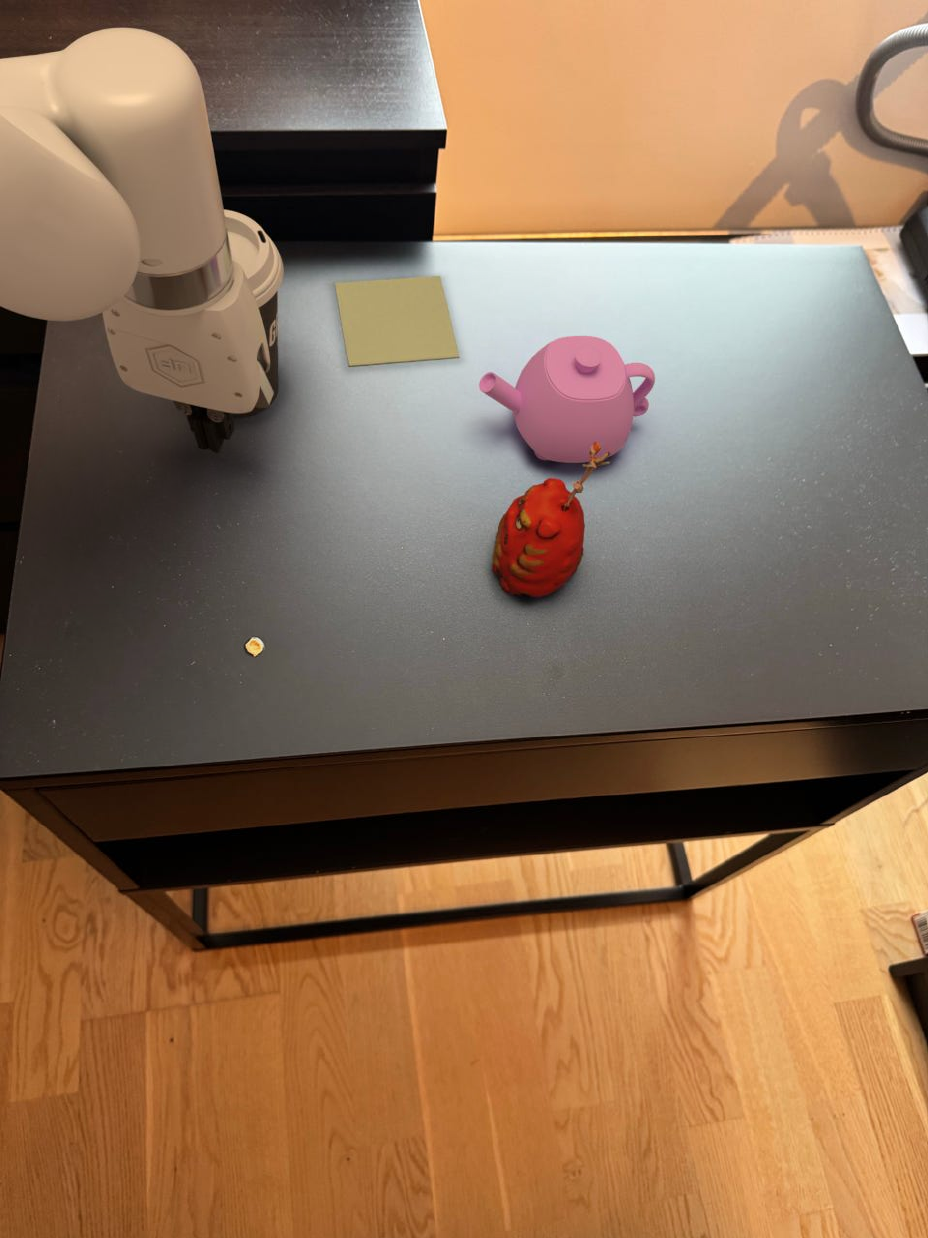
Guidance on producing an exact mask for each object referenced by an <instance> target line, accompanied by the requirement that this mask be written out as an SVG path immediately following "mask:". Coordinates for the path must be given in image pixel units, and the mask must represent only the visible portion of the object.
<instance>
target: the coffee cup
mask: <svg viewBox="0 0 928 1238" xmlns="http://www.w3.org/2000/svg"><path fill="white" fill-rule="evenodd" d="M224 214H225V220H226V226H227V231H228V237H229V243H230V248H231V254H232V260H233V261H235V262H237V263H239V264H240V265H241V266H242V268H243V271H244V273H245V275H246V277H247V279H248V281H249V284H250V286H251V289H252V291H253V293H254V296H255V299H256V302H257V305H258V308H259V311H260V315H261V318H262V322H263V326H264V330H265V334H266V339H267V344H268V349H269V356H270V369H269V371H268V372H266V373H265V375H266V377H267V379H268V381H269V383H270V385H271V387H272V390H273V392H274V395H273V397H272V400H271V402H270V405H269V407H270V406H271V405H272V404H273V403H274V401H275V400H276V399H277V395H278V392H279V385H280V384H279V383H280V382H279V314H278V313H279V311H278V310H279V309H278V308H279V307H278V306H279V305H278V299H279V298H278V297H279V296H278V295H279V294H278V292H279V291H278V290H279V289H280V287H281V286H282V285H281V284H282V282H283V279H284V271H285V269H284V262H283V259H282V256H281V254H280V252H279V250H278V248H277V246H276V244H275V243H274V241H273V240H272V239H271V237H270V236H269V235H268V234H267V233H266V232H265V230H264V229H263V228H262V226H261V225H260V224H259V223H257V222H256V221H255V220H254V219H252V218H251V217H249V216H247V215H245V214H242V213H240V212H238V211H234V210H229V209H224ZM266 409H267V408H253V410H252V411H250V412H247V413H239V414H238V413H232V417H233V418H234V417H235V418H236V417H237V418H242V417H243V418H244V417H250V416H254V415H257V414H259V413H261V412H263V411H264V410H266Z"/></svg>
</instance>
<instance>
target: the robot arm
mask: <svg viewBox="0 0 928 1238" xmlns="http://www.w3.org/2000/svg"><path fill="white" fill-rule="evenodd" d="M214 151H215V150H214V145H213V141H212V134H211V128H210V123H209V117H208V111H207V104H206V98H205V94H204V90H203V86H202V81H201V76H200V75H199V73H198V70H197V68H196V66H195V64H194V63H193V61H192V60H191V58H190V57H189V56H188V54H187V53H186V52H185V51H184V50H182V48H181V47H179V45H178V44H176V43H175V42H174V41H172V40H171V39H169V38H167V37H164V36H162V35H160V34H158V33H156V32H152V31H149V30H145V29H140V28H134V27H111V28H104V29H99V30H96V31H92V32H90V33H88V34H85V35H82V36H81V37H78V38H77V39H76V40H74V41H73V42H72V43H70V44H68V46H67V47H65V48H64V49H62V50H59V51H53V52H45V53H39V54H31V55H22V56H14V57H4V58H0V307H1V308H4V309H6V310H8V311H11V312H14V313H16V314H19V315H23V316H25V317H29V318H32V319H38V320H44V321H49V322H73V321H74V322H75V321H81V320H85V319H88V318H92V317H95V316H98V315H100V314H102V319H103V324H104V329H105V334H106V338H107V343H108V346H109V350H110V353H111V357H112V361H113V363H114V366H115V369H116V370H117V374H118V376H119V378H120V380H121V381H122V383H124V384H125V385H126V386H128V388H131V389H133V390H135V391H137V392H140V393H142V394H146V395H151V396H154V397H159V398H162V399H165V400H170V401H173V404H174V406H175V408H176V410H177V411H178V412H179V413H180V414H182V415H185V416H186V419H187V422H188V426H189V430H190V432H191V433H193V435H194V438H195V442H196V446H197V449H198V450H202V451H206V450H210V453H215V454H219V453H220V452H221V449H222V446H223V445H224V442H225V441H230V440H231V438H232V436H233V433H234V429H235V422H234V416H232V413H238V414H239V413H247V412H250V411H252V410H253V408H266V409H268V408H269V407H270V406H271V405H270V402H271V400H272V397H273V395H274V392H273V390H272V387H271V385H270V383H269V381H268V379H267V377H266V375H265V373H266V372H268V371H269V369H270V356H269V349H268V344H267V339H266V334H265V330H264V326H263V322H262V318H261V315H260V311H259V308H258V305H257V302H256V299H255V296H254V293H253V291H252V289H251V286H250V284H249V281H248V279H247V277H246V275H245V273H244V271H243V268H242V266H241V265H240V264H239V263H237V262H235V261H233V260H232V254H231V248H230V243H229V237H228V231H227V226H226V220H225V214H224V210H225V209H224V203H223V198H222V197H223V196H222V191H221V186H220V181H219V175H218V169H217V164H216V158H215V152H214ZM269 405H270V406H269Z"/></svg>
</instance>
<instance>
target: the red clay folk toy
mask: <svg viewBox="0 0 928 1238" xmlns="http://www.w3.org/2000/svg"><path fill="white" fill-rule="evenodd" d="M600 449H601V447H600V444H598V443H596V442H594V443H593V445H592V446H591V447H590V453H589V454H590V455H591V457H590V462H588V464H584V463H583V464H581V468H586V470H585V471H584V474H583V476H582V477H581V479H580V480H579V481H578V480H576V481H575V482H573V483H572V486H573V490H572V491H569V490H568V489H567V487H566V484H565V482H564V481H563V480H562V479H560V478H555V477H548V478H546V479H545V480H544V481H543V482H541V483H538V484H534V485H533V484H532V486H530V487H529V488H528V489H527V490H526V491H525V492H524V494H523V495H520V496H517V497H516V498H514V499H513V500H512V502H511V504H510V505H509V507H508V508H507V510H506V512H505V513H504V514H503V515H502V517H501V518H500V520H499V523H498V525H497V531H496V534H495V541H494V546H493V552H492V565H491V567H492V571H493V573H495V575H497V577H498V579H499V584H500V587H501V589H502V590H503V592H505V593H507V594H509V595H519V596H521V594H524V595H527V596H529V597H531V598H541V597H543V596H544V597H545V596H548V595H550V594H552V593H554V592H556V591H558V590H559V589H560V588H561V587H562V586H563V585H565V584H566V582H567V581H568V580H569V579H570V578H571V577H573V576H574V575H575V574H576V573H577V571H578V568H579V566H580V564H581V562H582V559H583V557H584V541H585V540H584V539H585V529H586V525H585V514H584V510H583V507H582V505H581V503H580V500H579V499H578V497H576V496H575V495H577V494H582V492H583V491H584V487H583V484H584V483H585V481H586V480H587V479H588V478H589V476H590V475H591V473H592V472H594V470H595V469H596V468H597V467H599V466H607V465H611V462H610V460H609V461H605V460H606V459H607V458H609V457H610V456H609V455H610V454H611V453H610V452H607V453H606V454H605V455H604V456H603V457H601V458H597V457H594V456H595V455H596V454H597V453H598V452H599V451H600ZM608 456H609V457H608Z"/></svg>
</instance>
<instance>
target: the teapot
mask: <svg viewBox="0 0 928 1238" xmlns="http://www.w3.org/2000/svg"><path fill="white" fill-rule="evenodd" d="M635 377H640V378H644V379H643V381H642V382H641V384H640V385H639V386H638V387H637V388H636V389H635V390H633V384H632V381H631V378H635ZM655 383H656V376H655V372H654V370H653V368H651V367H650V366H649V365H648V364H645V363H642V362H629V363H626V364H625V362H624V360H623V359H622V356H621V355H620V353H619V351H618V350H617V349H616V348H615V346H614V345H612V344H611V342H609V341H607V340H605V339H604V338H601V337H597V336H594V335H593V336H592V335H568V336H562V337H558V338H556V339H554V340H552V341H550V342H549V343H547V344H546V345H545V346H543V347H542V348H540V349H539V350H538V351H537V352H536V353H535V354H534V355H532V357H530V359H529V360H528V361H527V363H525V366H524V367H523V368H522V370H521V373H520V375H519V377H518V378H517V380H516V384H515V387H514V386H513V385H512V384H510V383H509V382H507V381H506V380H504V379H503V378H501V377H500V376H499V375H498V374H496V373H495V372H494V371H493V372H492V371H490V372H487V373H485V374H484V375H482V377H481V378H480V381H479V383H478V388H479V391H481V392H482V393H483V394H485V395H487V396H488V397H489V398H491V399H492V400H494V401H496V402H497V403H499V404H500V405H502V406H503V407H505V408H507V409H508V410H509V411H511V412H512V414H513V418H514V421H515V425H516V428H517V429H518V431H519V433H520V436H521V437H522V438H523V440H524V442H525V443H526V444H527V445H528V446H529V448H531V449H532V450H533V452H534V455H535V456H536V457H537V458H538V459H540V460H541V461H553V462H557V463H567V464H580V463H589V462H590V457H591V455H590V454H589V453H590V447H591V446H592V445H593V443H594V442H596V443H598V444H600V447H601V449H600V451H599V452H598V453H597V454H596V455H595V456H594V457H597V458H601V457H603V456H604V455H605V454H606V453H607V452H610V453H611V454H610V455H609V456H608V457H607V458H609V457H611V456H614V455H615V454H616V453H618V452H619V451H620V450H621V449H622V448H623V447H624V446H625V444H626V442H627V441H628V438H629V435H630V434H631V430H632V427H633V421H634V417H640V416H643V415H644V414H645V415H646V413H647V412H648V409H649V405H650V404H649V400H648V398H647V396H648V394H650V392H651V391H652V389H653V388H654V386H655Z"/></svg>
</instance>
